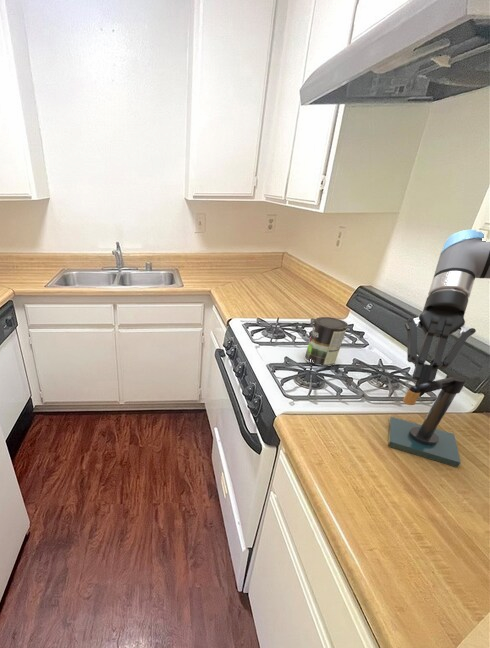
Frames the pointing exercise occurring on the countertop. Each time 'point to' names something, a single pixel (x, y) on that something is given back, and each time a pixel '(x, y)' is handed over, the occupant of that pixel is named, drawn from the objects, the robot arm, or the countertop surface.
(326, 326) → the coffee can
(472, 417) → the countertop surface
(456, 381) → the spout
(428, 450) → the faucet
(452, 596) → the countertop surface
